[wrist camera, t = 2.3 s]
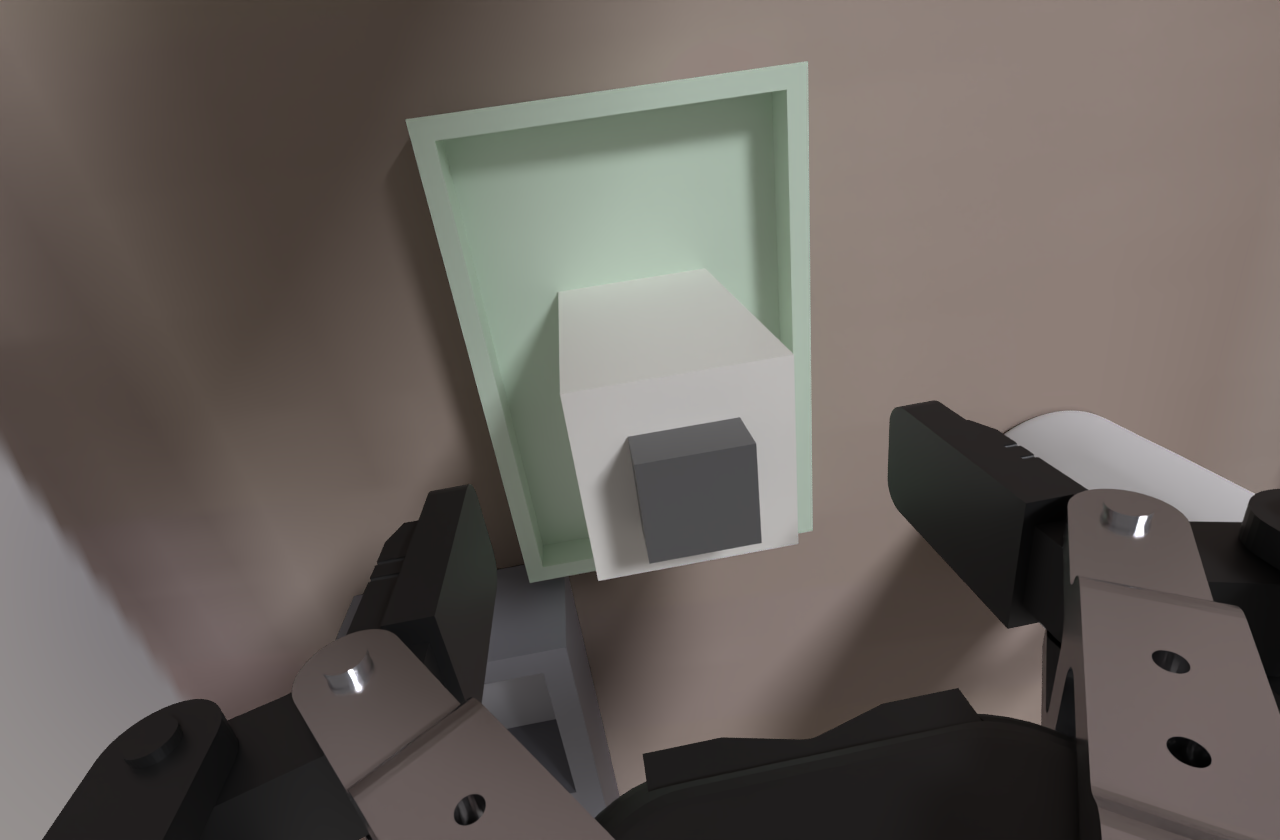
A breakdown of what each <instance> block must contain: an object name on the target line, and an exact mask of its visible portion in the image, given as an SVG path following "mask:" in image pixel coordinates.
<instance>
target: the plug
mask: <svg viewBox="0 0 1280 840" xmlns="http://www.w3.org/2000/svg"><path fill="white" fill-rule="evenodd" d="M558 308H559V370H560V397H561V402H562V407H563V412H564V417H565V422H566V426H567V431H568V436H569V441H570V446H571V451H572V456H573V460H574V465H575V470H576V475H577V480H578V485H579V490H580V494H581V499H582V504H583V509H584V514H585V519H586V524H587V528H588V533H589V538H590V543H591V548H592V553H593V558H594V562H595V567H596V572H597V577H598V581H601V580H606V579H612V578H617V577H623V576H628V575H633V574H639V573H644V572H649V571H655V570H660V569H666V568H671V567H676V566H682V565H687V564H693V563H698V562H703V561H709V560H714V559H719V558H725V557H730V556H736V555H741V554H746V553H752V552H757V551H763V550H768V549H773V548H779V547H784V546H789V545H795V544H798V508H797V464H796V420H795V376H794V354H793V353H792V352H791V351H790V350H789V349H788V348H787V347H786V346H785V345H784V344H783V343H782V342H781V341H779V340H778V339H777V338H776V337H775V336H774V335H773V334H772V333H771V332H770V331H769V330H768V329H767V328H766V327H765V326H764V325H763V324H762V323H761V322H760V321H759V320H758V319H757V318H756V317H755V316H754V315H753V314H752V313H751V312H750V311H749V310H748V309H747V308H746V307H745V306H743V305H742V304H741V303H740V302H739V301H738V300H737V299H736V298H735V297H734V296H733V295H732V294H731V293H730V292H729V291H728V290H727V289H726V288H725V287H724V286H723V285H722V284H721V283H720V282H719V281H718V280H717V279H716V278H715V277H714V276H713V275H712V274H711V273H710V272H709V271H707V270H706V269H705V268H704V269H697V270H691V271H685V272H679V273H672V274H666V275H660V276H654V277H648V278H641V279H635V280H629V281H623V282H616V283H610V284H604V285H598V286H592V287H585V288H579V289H573V290H567V291H560V292H558Z"/></svg>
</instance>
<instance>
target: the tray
mask: <svg viewBox="0 0 1280 840" xmlns="http://www.w3.org/2000/svg"><path fill="white" fill-rule="evenodd" d="M405 120H406V124H407V128H408V132H409V135H410V139H411V143H412V146H413V150H414V154H415V158H416V161H417V165H418V169H419V173H420V176H421V180H422V184H423V187H424V191H425V195H426V199H427V202H428V206H429V210H430V213H431V217H432V221H433V225H434V228H435V232H436V236H437V240H438V243H439V247H440V251H441V254H442V258H443V262H444V266H445V269H446V273H447V277H448V280H449V284H450V288H451V292H452V295H453V299H454V303H455V307H456V310H457V314H458V318H459V321H460V325H461V329H462V333H463V336H464V340H465V344H466V347H467V351H468V355H469V359H470V362H471V366H472V370H473V373H474V377H475V381H476V385H477V388H478V392H479V396H480V400H481V403H482V407H483V411H484V414H485V418H486V422H487V426H488V429H489V433H490V437H491V440H492V444H493V448H494V452H495V455H496V459H497V463H498V467H499V470H500V474H501V478H502V481H503V485H504V489H505V493H506V496H507V500H508V504H509V507H510V511H511V515H512V519H513V522H514V526H515V530H516V534H517V537H518V541H519V545H520V548H521V552H522V556H523V560H524V563H525V567H526V571H527V574H528V578H529V582H530V583H533V582H538V581H543V580H549V579H554V578H560V577H565V576H570V575H576V574H581V573H587V572H592V571H596V567H595V562H594V558H593V553H592V548H591V543H590V538H589V533H588V528H587V524H586V519H585V514H584V509H583V504H582V499H581V494H580V490H579V485H578V480H577V475H576V470H575V465H574V460H573V456H572V451H571V446H570V441H569V436H568V431H567V426H566V422H565V417H564V412H563V407H562V402H561V397H560V370H559V308H558V292H560V291H567V290H573V289H579V288H585V287H592V286H598V285H604V284H610V283H616V282H623V281H629V280H635V279H641V278H648V277H654V276H660V275H666V274H672V273H679V272H685V271H691V270H697V269H704V268H705V269H706V270H707V271H709V272H710V273H711V274H712V275H713V276H714V277H715V278H716V279H717V280H718V281H719V282H720V283H721V284H722V285H723V286H724V287H725V288H726V289H727V290H728V291H729V292H730V293H731V294H732V295H733V296H734V297H735V298H736V299H737V300H738V301H739V302H740V303H741V304H742V305H743V306H745V307H746V308H747V309H748V310H749V311H750V312H751V313H752V314H753V315H754V316H755V317H756V318H757V319H758V320H759V321H760V322H761V323H762V324H763V325H764V326H765V327H766V328H767V329H768V330H769V331H770V332H771V333H772V334H773V335H774V336H775V337H776V338H777V339H778V340H779V341H781V342H782V343H783V344H784V345H785V346H786V347H787V348H788V349H789V350H790V351H791V352H792V353H793V354H794V376H795V420H796V464H797V508H798V533H803V532H809V531H813V520H812V420H811V320H810V219H809V119H808V61H806V62H800V63H793V64H786V65H779V66H772V67H765V68H758V69H751V70H744V71H737V72H730V73H723V74H716V75H709V76H702V77H695V78H689V79H682V80H675V81H668V82H661V83H654V84H647V85H640V86H633V87H626V88H619V89H612V90H605V91H598V92H591V93H585V94H578V95H571V96H564V97H557V98H550V99H543V100H536V101H529V102H522V103H515V104H508V105H501V106H494V107H487V108H480V109H474V110H467V111H460V112H453V113H446V114H439V115H432V116H425V117H418V118H411V119H405Z"/></svg>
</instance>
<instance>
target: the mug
mask: <svg viewBox="0 0 1280 840" xmlns="http://www.w3.org/2000/svg"><path fill="white" fill-rule="evenodd" d="M1004 435H1006V436H1007V437H1009V438H1010V439H1012V440H1013V441H1015V442H1016V443H1017V446H1022V447H1024V448H1025V449H1027V450H1028V451H1030V452H1032V453H1033V454H1034V457H1039V458H1041V459H1042V460H1044V461H1045V462H1047V463H1048V464H1050V465H1051V466H1053V467H1054V468H1056V469H1057V470H1059V471H1061V472H1062V473H1064V474H1065V475H1067V476H1068V477H1070V478H1071V479H1073V480H1074V481H1076V482H1077V483H1079V484H1080V485H1082V486H1083V487H1085V488H1086V489H1088V490H1092V489H1120V490H1127V491H1133V492H1137V493H1141V494H1145V495H1148V496H1151V497H1154V498H1157V499H1159V500H1162V501H1164V502H1166V503H1168V504H1170V505H1172V506H1173V507H1175V508H1176V509H1178V510H1179V511H1180V512H1181V513H1183V514H1184V515H1185V517H1186V518H1187V519H1188V521H1198V522H1242V521H1243V518H1244V515H1245V512H1246V509H1247V506H1248V503H1249V500H1250V498H1251V497H1252V496H1253V495H1255V494H1254V493H1252V492H1250V491H1248V490H1246V489H1245V488H1243V487H1241V486H1239V485H1237V484H1235V483H1233V482H1231V481H1229V480H1227V479H1225V478H1223V477H1221V476H1219V475H1217V474H1215V473H1213V472H1211V471H1209V470H1207V469H1205V468H1203V467H1201V466H1199V465H1197V464H1196V463H1194V462H1192V461H1190V460H1188V459H1186V458H1184V457H1182V456H1180V455H1178V454H1176V453H1174V452H1172V451H1170V450H1168V449H1166V448H1164V447H1161V446H1159V445H1157V444H1155V443H1153V442H1151V441H1149V440H1147V439H1145V438H1143V437H1141V436H1139V435H1137V434H1135V433H1133V432H1131V431H1129V430H1127V429H1125V428H1123V427H1121V426H1119V425H1117V424H1115V423H1113V422H1111V421H1109V420H1107V419H1105V418H1103V417H1101V416H1098V415H1095V414H1092V413H1088V412H1083V411H1058V412H1053V413H1048V414H1044V415H1041V416H1038V417H1035V418H1032V419H1030V420H1027V421H1025V422H1023V423H1021V424H1019V425H1017V426H1016V427H1014V428H1012V429H1011V430H1009V431H1008V432H1006V433H1005V434H1004ZM1039 623H1040V622H1039ZM1040 624H1041V623H1040ZM1041 625H1042V624H1041ZM1042 626H1043V625H1042ZM1043 627H1044V626H1043ZM1044 628H1045V627H1044ZM1045 629H1046V628H1045Z"/></svg>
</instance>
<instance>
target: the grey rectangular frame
mask: <svg viewBox="0 0 1280 840" xmlns="http://www.w3.org/2000/svg"><path fill="white" fill-rule="evenodd" d="M362 596H363V595H357V596H354V598H353V600H352V602H351V605H350V607H349V609H348V612H347V614H346V616H345V619H344V621H343V623H342V626H341V628H340V631H339V633H338V635H337V638H336V640H337V639H339V638H341V637H344V636H346V634H347V632H348V629H349V627H350V625H351V622H352V620H353V617H354V615H355V613H356V610H357V608H358V606H359V603H360V601H361V599H362ZM482 704H483V705H484V706H485V707H486V708H487V709H488V710H489V711H490V712H491V713H492V714H493V716H494V717H495V718H496V719H497V720H498V721H499V722H500V723H501V724H502V725H503V726H504V727H505V728H506V729H507V730H508V731H509V732H510V733H511V734H512V735H513V736H514V737H515V738H516V739H517V740H518V741H519V742H520V743H521V744H522V745H523V746H524V747H525V748H526V749H527V750H528V751H529V752H530V753H531V754H532V755H533V756H534V757H535V758H536V759H537V760H538V761H539V762H540V764H541V765H542V766H543V767H544V768H545V769H546V770H547V771H548V772H549V773H550V774H551V775H552V776H553V777H554V778H555V779H556V780H557V781H558V782H559V783H560V784H561V785H562V786H563V787H564V788H565V789H566V790H567V791H568V792H569V793H570V794H571V795H572V796H573V797H574V798H575V799H576V800H577V801H578V802H579V803H580V804H581V805H582V806H583V807H584V808H585V809H586V810H587V812H588V813H589V814H590V815H591V816H592V817H593V818H595V817H596V816H597V815H598V814H599V813H600V812H601V811H602V810H604V809H605V808H606V807H607V806H608V805H610V804H611V803H612V802H613V801H614V800H616V799H617V798H619V797H620V796H619V792H618V787H617V783H616V779H615V774H614V770H613V766H612V761H611V757H610V753H609V749H608V744H607V740H606V736H605V731H604V727H603V723H602V718H601V714H600V710H599V705H598V701H597V697H596V692H595V688H594V684H593V680H592V675H591V671H590V667H589V662H588V658H587V654H586V649H585V645H584V641H583V636H582V632H581V628H580V623H579V619H578V615H577V611H576V606H575V602H574V598H573V593H572V589H571V585H570V580H569V576H565V577H560V578H554V579H549V580H543V581H538V582H533V583H530V582H529V578H528V574H527V571H526V567H525V565H521V566H515V567H510V568H505V569H499V570H497V590H496V598H495V606H494V613H493V621H492V629H491V636H490V644H489V652H488V659H487V667H486V675H485V682H484V690H483V697H482Z"/></svg>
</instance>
